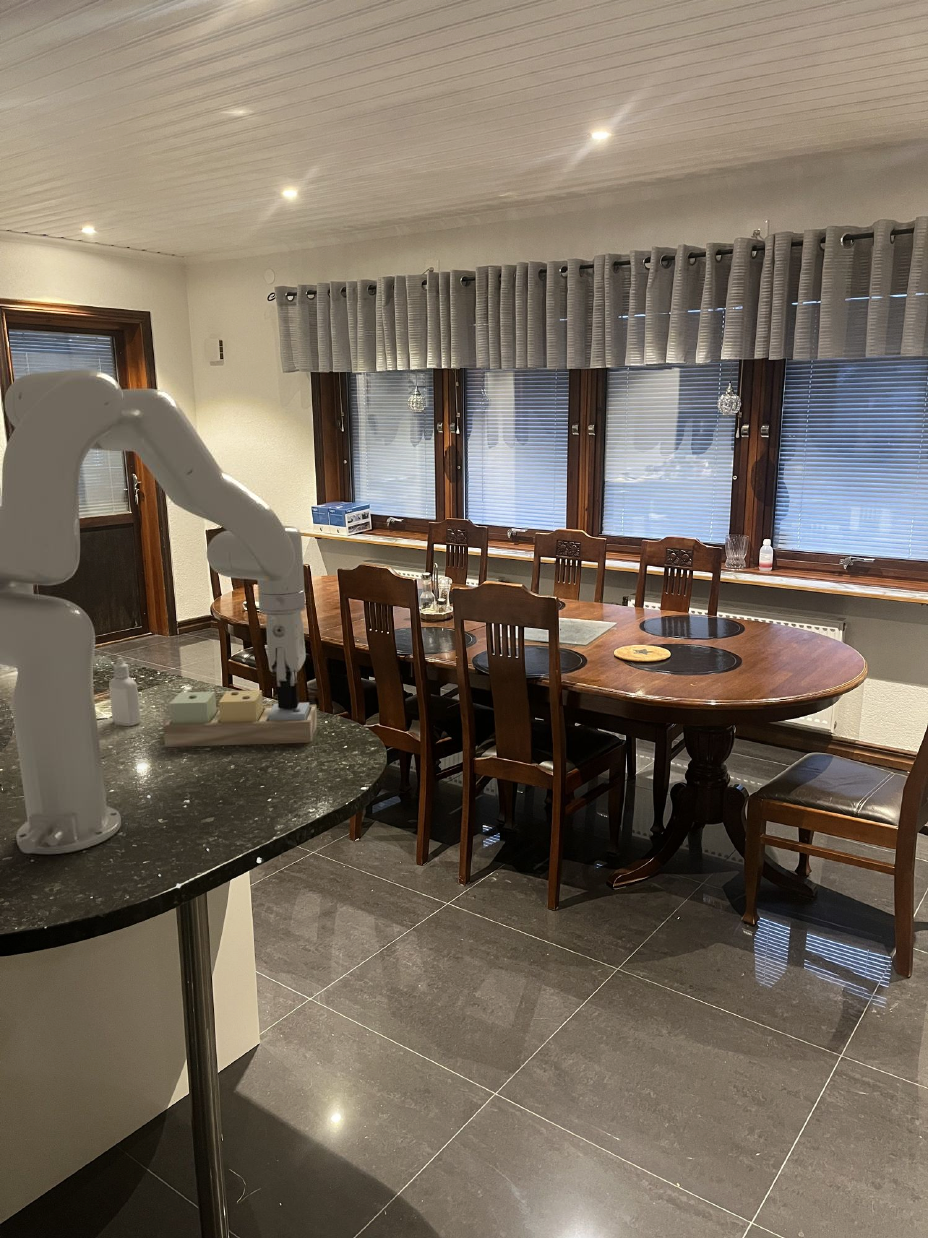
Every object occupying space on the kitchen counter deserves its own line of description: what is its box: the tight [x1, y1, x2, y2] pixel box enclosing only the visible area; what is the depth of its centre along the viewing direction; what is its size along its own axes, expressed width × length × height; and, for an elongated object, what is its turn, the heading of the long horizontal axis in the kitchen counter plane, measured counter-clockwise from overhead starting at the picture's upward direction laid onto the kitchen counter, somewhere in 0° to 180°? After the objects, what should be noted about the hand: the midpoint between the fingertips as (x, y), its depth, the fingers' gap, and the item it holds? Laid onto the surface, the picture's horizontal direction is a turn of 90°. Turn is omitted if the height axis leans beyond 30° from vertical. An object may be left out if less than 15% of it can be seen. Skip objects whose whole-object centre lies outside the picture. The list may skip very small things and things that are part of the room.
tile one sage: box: [169, 691, 217, 724], centre depth 151 cm, size 6×6×4 cm
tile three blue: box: [268, 702, 310, 721], centre depth 152 cm, size 6×6×4 cm
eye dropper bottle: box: [108, 657, 141, 727], centre depth 158 cm, size 4×6×12 cm
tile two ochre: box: [218, 689, 264, 722], centre depth 151 cm, size 6×6×4 cm
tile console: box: [162, 704, 318, 748], centre depth 152 cm, size 9×24×4 cm, turn 92°
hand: (288, 706), depth 151 cm, fingers closed
